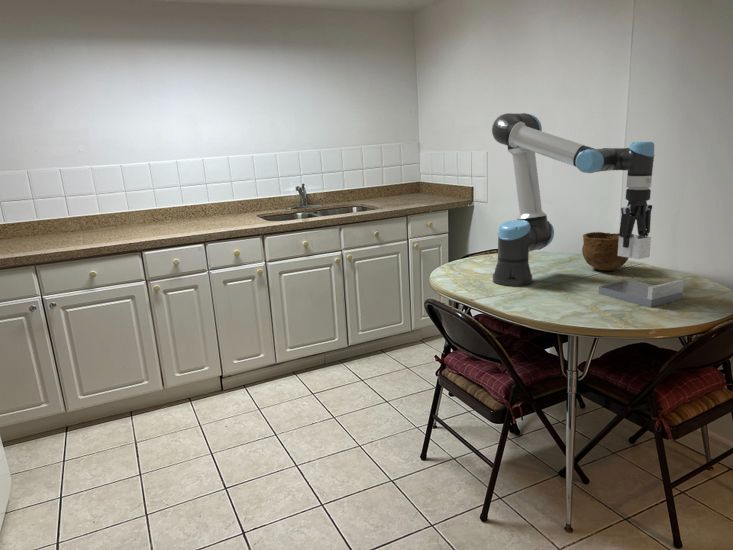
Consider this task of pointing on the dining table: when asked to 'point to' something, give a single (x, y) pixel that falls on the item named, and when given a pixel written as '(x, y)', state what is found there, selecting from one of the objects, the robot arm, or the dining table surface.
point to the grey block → (636, 246)
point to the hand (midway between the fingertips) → (632, 255)
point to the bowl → (602, 251)
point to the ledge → (644, 292)
